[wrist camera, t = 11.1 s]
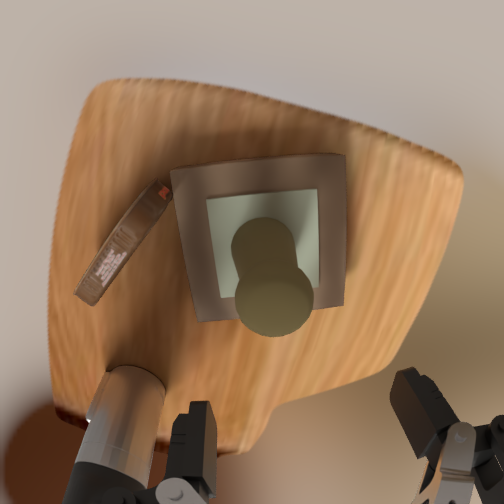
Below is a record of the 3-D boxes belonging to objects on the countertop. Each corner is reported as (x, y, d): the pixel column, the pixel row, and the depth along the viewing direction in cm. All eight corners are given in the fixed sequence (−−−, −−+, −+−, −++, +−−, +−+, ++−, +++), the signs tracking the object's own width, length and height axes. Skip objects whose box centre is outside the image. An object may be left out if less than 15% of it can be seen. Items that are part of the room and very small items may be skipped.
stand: (201, 304, 34) (197, 324, 31) (177, 167, 28) (168, 171, 25) (334, 289, 35) (344, 307, 31) (333, 153, 29) (346, 155, 25)
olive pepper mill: (250, 287, 29) (257, 363, 19) (218, 237, 27) (207, 298, 17) (305, 258, 28) (339, 324, 18) (276, 205, 26) (301, 249, 16)
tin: (163, 171, 29) (137, 183, 21) (185, 190, 30) (167, 209, 22) (92, 268, 32) (59, 304, 24) (111, 284, 33) (83, 323, 25)
